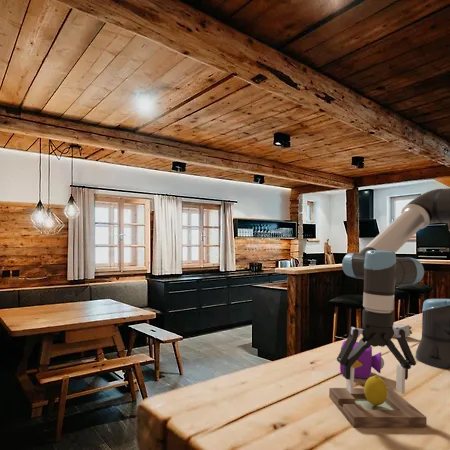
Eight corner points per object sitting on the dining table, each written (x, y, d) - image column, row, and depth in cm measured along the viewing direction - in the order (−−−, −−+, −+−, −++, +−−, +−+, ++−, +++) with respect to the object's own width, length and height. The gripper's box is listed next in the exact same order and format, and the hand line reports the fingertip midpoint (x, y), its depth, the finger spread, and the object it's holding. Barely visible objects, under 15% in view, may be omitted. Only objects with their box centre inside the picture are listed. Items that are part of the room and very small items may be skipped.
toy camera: (386, 383, 115) (387, 350, 115) (340, 377, 118) (342, 346, 118) (379, 370, 126) (380, 341, 126) (337, 365, 128) (338, 336, 129)
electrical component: (372, 349, 159) (370, 338, 159) (362, 345, 164) (360, 334, 164) (412, 335, 168) (411, 324, 168) (401, 331, 173) (400, 321, 173)
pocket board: (390, 397, 105) (391, 388, 105) (426, 427, 89) (426, 417, 89) (329, 396, 103) (329, 387, 103) (353, 427, 87) (354, 417, 88)
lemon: (376, 413, 93) (377, 381, 93) (359, 403, 97) (360, 373, 98) (391, 409, 95) (392, 378, 95) (373, 400, 100) (375, 370, 100)
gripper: (415, 307, 101) (412, 385, 101) (326, 305, 99) (323, 385, 99) (432, 314, 94) (429, 398, 94) (337, 311, 92) (333, 397, 92)
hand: (375, 391), depth 96 cm, fingers open, 13 cm apart
